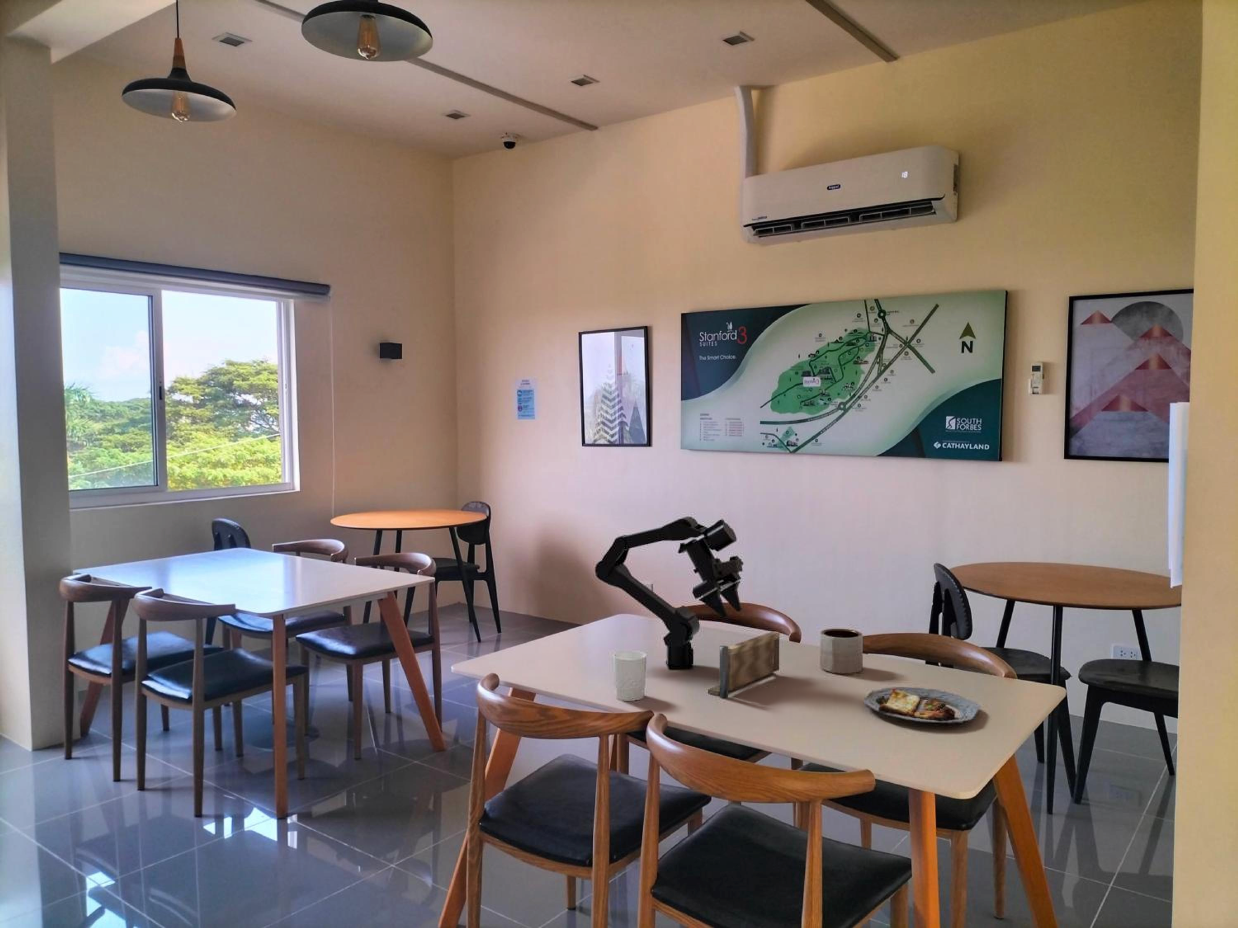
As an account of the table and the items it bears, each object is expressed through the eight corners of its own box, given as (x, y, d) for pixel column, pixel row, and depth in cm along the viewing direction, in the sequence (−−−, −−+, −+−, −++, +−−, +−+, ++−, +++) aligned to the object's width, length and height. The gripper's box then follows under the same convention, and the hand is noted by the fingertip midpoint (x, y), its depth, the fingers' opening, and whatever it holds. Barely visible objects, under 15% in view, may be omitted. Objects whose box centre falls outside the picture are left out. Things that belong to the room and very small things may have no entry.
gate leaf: (730, 689, 203) (731, 649, 203) (724, 688, 204) (724, 648, 204) (779, 669, 220) (779, 632, 219) (773, 668, 221) (773, 631, 220)
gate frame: (725, 698, 201) (725, 648, 201) (705, 694, 205) (705, 644, 204) (782, 674, 220) (782, 628, 220) (763, 670, 224) (763, 625, 224)
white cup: (651, 694, 205) (651, 652, 204) (638, 704, 198) (638, 661, 197) (621, 690, 208) (621, 649, 208) (607, 699, 201) (607, 657, 201)
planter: (816, 672, 223) (816, 635, 222) (823, 661, 233) (823, 626, 232) (860, 677, 218) (860, 639, 218) (864, 665, 229) (865, 630, 228)
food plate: (965, 738, 175) (965, 721, 175) (852, 719, 188) (852, 702, 188) (986, 707, 196) (986, 692, 196) (883, 691, 209) (883, 677, 209)
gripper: (713, 549, 213) (744, 605, 209) (741, 542, 229) (771, 594, 225) (679, 570, 218) (708, 625, 214) (709, 561, 234) (737, 613, 230)
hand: (733, 614), depth 221 cm, fingers open, 9 cm apart
